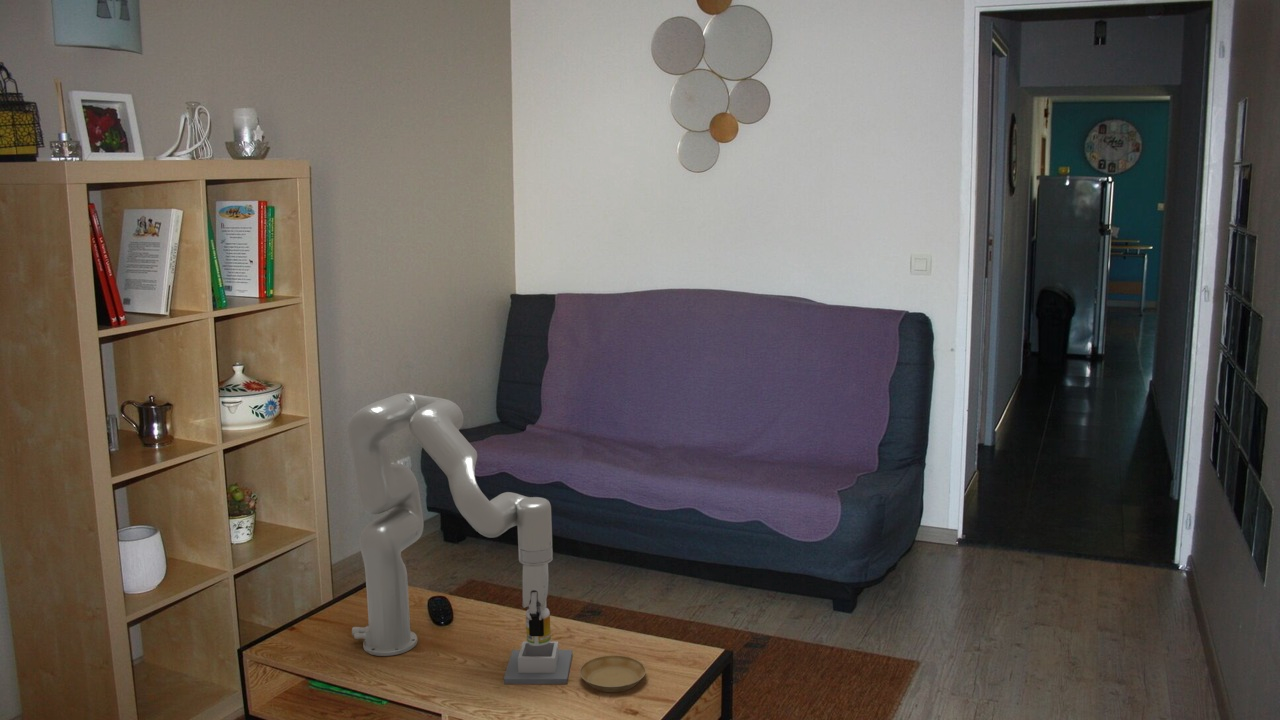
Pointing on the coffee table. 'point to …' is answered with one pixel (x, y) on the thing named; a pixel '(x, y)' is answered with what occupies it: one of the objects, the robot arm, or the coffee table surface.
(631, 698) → the coffee table surface
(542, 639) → the supplement bottle
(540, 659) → the bottle holder
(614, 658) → the plant saucer
